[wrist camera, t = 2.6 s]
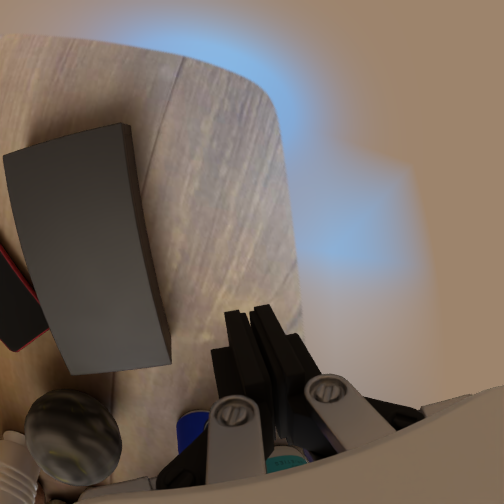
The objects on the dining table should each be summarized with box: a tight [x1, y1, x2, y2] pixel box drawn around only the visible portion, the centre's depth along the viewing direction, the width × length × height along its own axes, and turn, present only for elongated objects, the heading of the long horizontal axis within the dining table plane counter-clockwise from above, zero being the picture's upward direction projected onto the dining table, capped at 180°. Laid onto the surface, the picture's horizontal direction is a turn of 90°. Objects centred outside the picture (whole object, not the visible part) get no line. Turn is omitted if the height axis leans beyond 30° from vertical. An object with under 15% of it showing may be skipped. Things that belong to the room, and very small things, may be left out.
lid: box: [3, 123, 172, 375], centre depth 22 cm, size 18×9×4 cm, turn 5°
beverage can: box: [176, 410, 209, 454], centre depth 25 cm, size 5×5×15 cm
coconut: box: [34, 481, 45, 504], centre depth 29 cm, size 5×5×8 cm
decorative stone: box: [24, 389, 122, 486], centre depth 23 cm, size 10×10×10 cm
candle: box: [0, 431, 41, 504], centre depth 21 cm, size 7×7×15 cm
